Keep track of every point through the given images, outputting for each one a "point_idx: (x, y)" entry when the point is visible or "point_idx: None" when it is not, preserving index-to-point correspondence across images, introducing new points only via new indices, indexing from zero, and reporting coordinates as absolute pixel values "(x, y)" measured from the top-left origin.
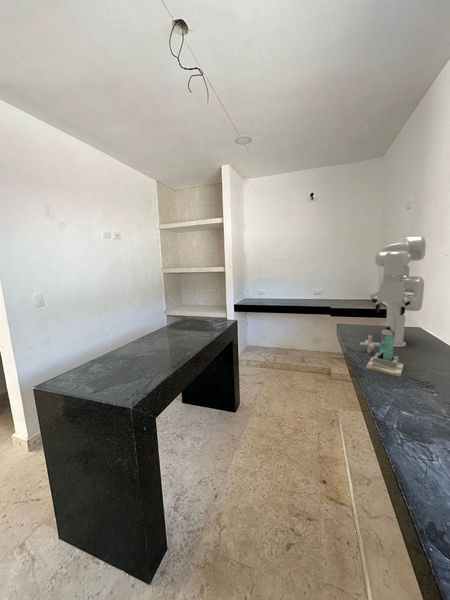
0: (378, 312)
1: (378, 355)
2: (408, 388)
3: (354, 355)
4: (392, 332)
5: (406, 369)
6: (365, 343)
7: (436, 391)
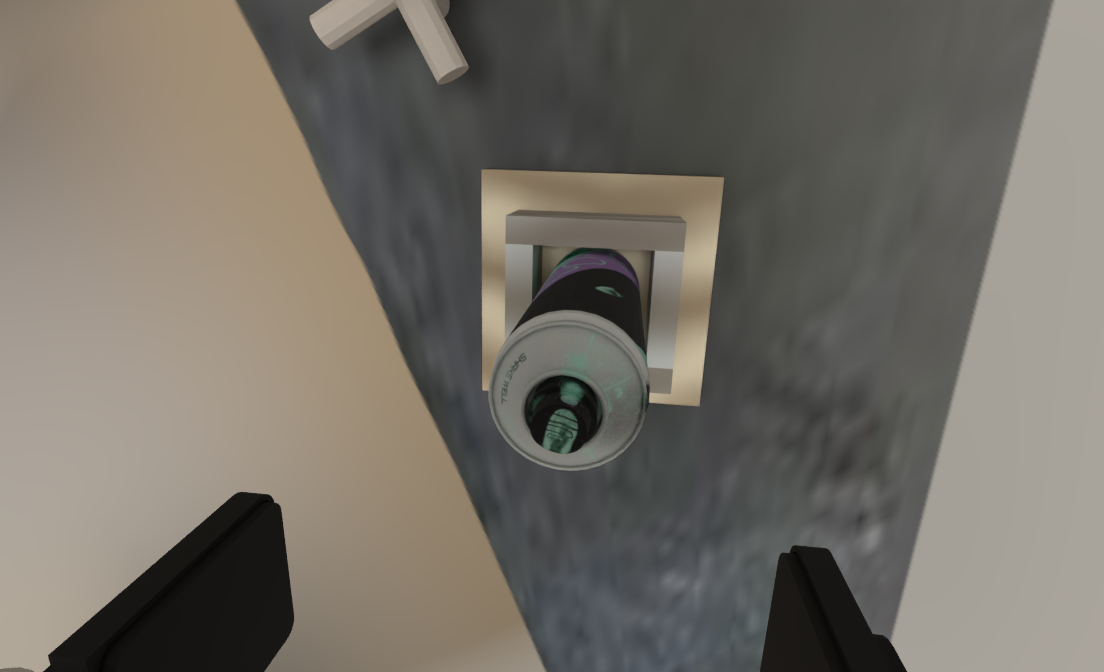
0: (291, 603)
1: (532, 282)
2: (739, 534)
3: (353, 168)
4: (625, 438)
5: (740, 243)
6: (364, 17)
7: (887, 496)
